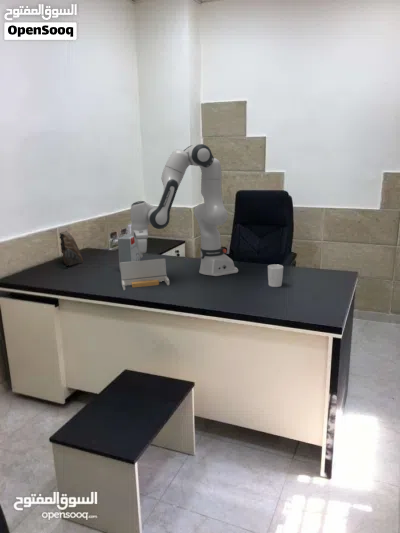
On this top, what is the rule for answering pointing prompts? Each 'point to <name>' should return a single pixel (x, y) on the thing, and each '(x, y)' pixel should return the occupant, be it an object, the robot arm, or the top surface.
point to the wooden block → (145, 283)
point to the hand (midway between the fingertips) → (140, 257)
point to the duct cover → (143, 268)
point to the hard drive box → (127, 249)
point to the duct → (161, 278)
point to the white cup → (275, 275)
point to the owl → (70, 249)
